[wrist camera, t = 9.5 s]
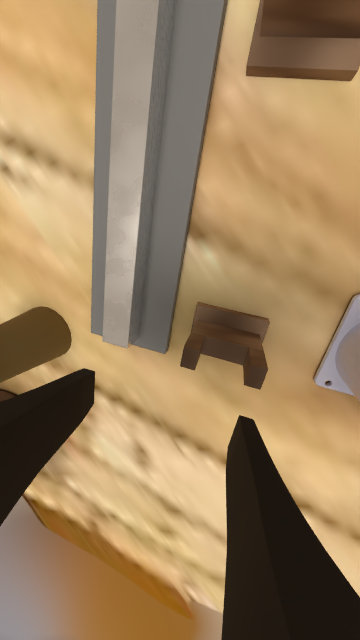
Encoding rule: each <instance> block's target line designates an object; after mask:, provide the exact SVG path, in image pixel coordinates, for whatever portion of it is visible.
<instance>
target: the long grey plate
mask: <svg viewBox="0 0 360 640" xmlns="http://www.w3.org/2000/svg"><path fill="white" fill-rule="evenodd" d="M226 5H227V0H176V9H175V18H174V27H173V36H172V45H171V54H170V63H169V72H168V81H167V90H166V99H165V108H164V118H163V127H162V136H161V145H160V154H159V163H158V172H157V181H156V190H155V199H154V208H153V217H152V226H151V235H150V244H149V253H148V262H147V271H146V280H145V289H144V298H143V307H142V317H141V326H140V335H139V338H138V339H137V340H136V341H135V342H134V343H133V344H132V345H135V346H139V347H142V348H146V349H149V350H153V351H156V352H160V353H163V354H165V353H166V352H167V350H168V345H169V339H170V333H171V328H172V322H173V316H174V310H175V304H176V298H177V292H178V287H179V281H180V275H181V269H182V263H183V257H184V251H185V246H186V240H187V234H188V228H189V222H190V216H191V210H192V205H193V199H194V193H195V187H196V181H197V175H198V169H199V164H200V158H201V152H202V146H203V140H204V134H205V128H206V123H207V117H208V111H209V105H210V99H211V93H212V87H213V82H214V76H215V70H216V64H217V58H218V52H219V46H220V41H221V35H222V29H223V23H224V17H225V11H226ZM115 24H116V0H98V9H97V58H96V107H95V157H94V206H93V256H92V305H91V333H94V334H97V335H101V336H103V316H104V292H105V268H106V243H107V219H108V194H109V170H110V146H111V121H112V97H113V72H114V48H115Z"/></svg>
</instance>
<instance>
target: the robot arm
mask: <svg viewBox="0 0 360 640" xmlns="http://www.w3.org/2000/svg"><path fill="white" fill-rule="evenodd" d="M326 381H330V382H329V383H325V382H326ZM314 382H315V383H316V384H317V385H318V386H321V387H325V388H328V389H332V390H335V391H339V392H343V393H346V394H350V395H353V396H355V397H356V398H357V399H358V401H359V402H360V294H357V295H355V296H354V297H353V298H352V300H351V302H350V304H349V306H348V308H347V310H346V312H345V314H344V317H343V319H342V321H341V323H340V325H339V327H338V329H337V331H336V333H335V335H334V337H333V339H332V341H331V343H330V346H329V348H328V350H327V352H326V354H325V356H324V358H323V360H322V362H321V364H320V366H319V368H318V370H317V372H316V375H315V377H314ZM94 386H95V371H92V370H88V369H85V368H84V369H81V370H78V371H76V372H73V373H71V374H69V375H66V376H64V377H62V378H59V379H57V380H55V381H52V382H50V383H48V384H45V385H43V386H41V387H38V388H36V389H33V390H30V391H28V392H25V393H23V394H20V395H17V396H15V397H12V398H9V399H7V400H4V401H1V402H0V526H1V524H2V523H3V521H4V520H5V519H6V517H7V516H8V514H9V513H10V511H11V510H12V508H13V507H14V505H15V504H16V503H17V501H18V500H19V499H20V497H21V496H22V494H23V493H24V492H25V490H26V489H27V488H28V486H29V485H30V484H31V482H32V481H33V479H34V478H35V477H36V475H37V474H38V473H39V472H40V470H41V469H42V468H43V467H44V465H45V464H46V463H47V462H48V461H49V460H50V458H51V457H52V456H53V455H54V454H55V453H56V451H57V450H58V449H59V448H60V447H61V446H62V444H63V443H64V442H65V441H66V440H67V439H68V437H69V436H70V435H71V434H72V433H73V432H74V430H75V429H76V428H77V427H78V426H79V424H80V423H81V422H82V421H83V419H84V418H85V416H86V415H87V413H88V412H89V410H90V409H91V407H92V406H93V404H94ZM226 508H227V559H226V578H225V595H224V610H223V626H222V640H360V597H359V596H358V594H357V593H356V592H355V590H354V589H353V588H352V586H351V585H350V583H349V582H348V581H347V579H346V578H345V576H344V575H343V574H342V572H341V571H340V569H339V568H338V567H337V565H336V564H335V563H334V561H333V560H332V558H331V557H330V556H329V554H328V553H327V551H326V550H325V548H324V547H323V545H322V544H321V542H320V541H319V539H318V538H317V536H316V535H315V533H314V532H313V530H312V529H311V527H310V526H309V524H308V523H307V521H306V519H305V518H304V516H303V515H302V513H301V511H300V510H299V508H298V506H297V505H296V503H295V501H294V500H293V498H292V496H291V494H290V493H289V491H288V489H287V487H286V485H285V484H284V482H283V480H282V478H281V476H280V474H279V472H278V471H277V469H276V467H275V465H274V463H273V461H272V459H271V457H270V455H269V453H268V451H267V448H266V446H265V444H264V442H263V440H262V438H261V435H260V433H259V431H258V429H257V426H256V424H255V422H254V420H253V419H250V418H247V417H244V416H240V415H239V417H238V420H237V423H236V426H235V429H234V431H233V434H232V437H231V440H230V443H229V446H228V452H227V463H226Z"/></svg>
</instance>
